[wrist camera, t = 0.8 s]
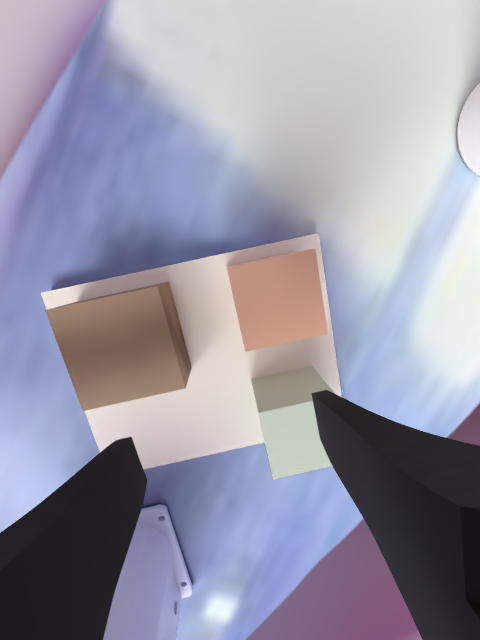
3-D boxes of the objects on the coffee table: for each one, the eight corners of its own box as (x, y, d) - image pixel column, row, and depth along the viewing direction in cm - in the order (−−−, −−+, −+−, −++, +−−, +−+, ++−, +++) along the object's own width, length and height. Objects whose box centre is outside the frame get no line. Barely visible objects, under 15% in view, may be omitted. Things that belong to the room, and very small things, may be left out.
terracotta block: (303, 316, 19) (327, 333, 14) (240, 330, 19) (245, 351, 14) (293, 251, 18) (315, 248, 13) (226, 266, 18) (227, 267, 13)
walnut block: (191, 367, 19) (185, 388, 16) (106, 386, 19) (83, 411, 16) (169, 281, 18) (157, 286, 15) (77, 301, 18) (45, 310, 14)
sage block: (320, 420, 20) (346, 463, 16) (262, 433, 20) (273, 479, 16) (311, 365, 19) (336, 395, 15) (250, 379, 19) (258, 412, 15)
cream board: (340, 417, 22) (345, 424, 21) (114, 467, 21) (109, 477, 20) (313, 234, 18) (318, 232, 18) (50, 291, 18) (40, 292, 17)
